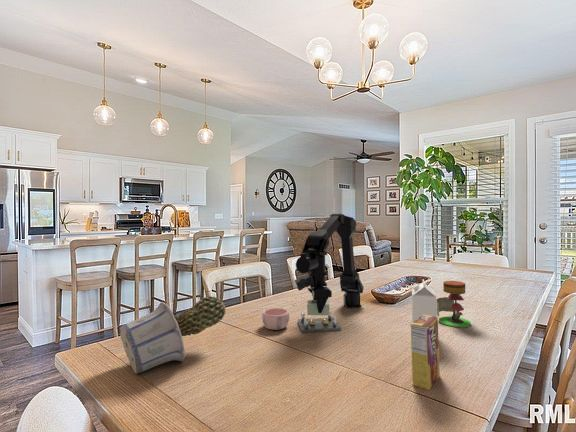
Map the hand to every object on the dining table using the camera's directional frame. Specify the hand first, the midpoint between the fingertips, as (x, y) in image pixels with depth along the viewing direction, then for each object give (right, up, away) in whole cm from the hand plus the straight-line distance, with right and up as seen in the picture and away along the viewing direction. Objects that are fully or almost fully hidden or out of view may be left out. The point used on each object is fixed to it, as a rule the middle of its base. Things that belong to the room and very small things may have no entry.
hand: (318, 310), depth 123 cm
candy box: (+23, -6, -40) cm, 47 cm away
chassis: (0, -6, 0) cm, 6 cm away
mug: (-16, -6, 0) cm, 17 cm away
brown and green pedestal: (+51, -5, +1) cm, 51 cm away
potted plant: (-44, -7, -25) cm, 51 cm away
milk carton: (+34, -6, -13) cm, 37 cm away
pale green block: (0, -1, 0) cm, 1 cm away
